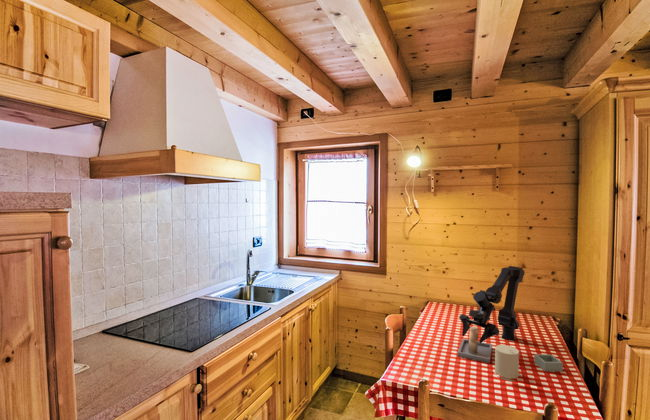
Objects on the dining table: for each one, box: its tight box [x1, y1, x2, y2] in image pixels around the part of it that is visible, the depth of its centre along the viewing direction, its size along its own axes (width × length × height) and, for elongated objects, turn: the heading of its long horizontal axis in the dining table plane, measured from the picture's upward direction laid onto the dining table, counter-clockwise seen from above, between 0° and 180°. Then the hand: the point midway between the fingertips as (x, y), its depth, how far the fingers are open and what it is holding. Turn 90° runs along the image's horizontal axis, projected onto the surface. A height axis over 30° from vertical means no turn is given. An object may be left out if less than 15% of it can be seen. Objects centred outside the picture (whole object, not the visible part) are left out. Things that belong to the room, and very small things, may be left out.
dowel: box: [468, 326, 480, 354], centre depth 163 cm, size 4×4×12 cm
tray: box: [457, 338, 493, 364], centre depth 165 cm, size 18×14×2 cm
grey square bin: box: [533, 353, 564, 372], centre depth 148 cm, size 8×8×5 cm
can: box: [494, 344, 520, 382], centre depth 143 cm, size 9×9×12 cm
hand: (471, 338), depth 163 cm, fingers open, 9 cm apart
